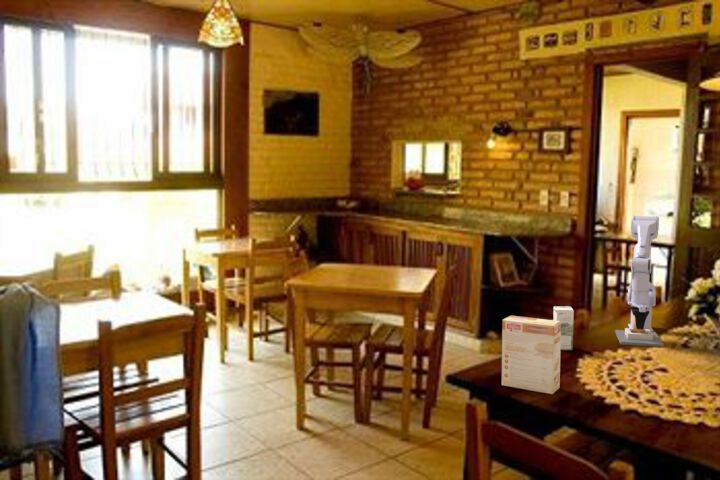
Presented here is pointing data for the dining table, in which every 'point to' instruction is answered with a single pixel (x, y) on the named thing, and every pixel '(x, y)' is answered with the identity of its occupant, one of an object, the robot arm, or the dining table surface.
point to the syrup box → (565, 325)
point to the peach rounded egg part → (636, 328)
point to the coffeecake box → (531, 353)
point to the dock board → (638, 338)
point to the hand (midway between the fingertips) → (638, 327)
